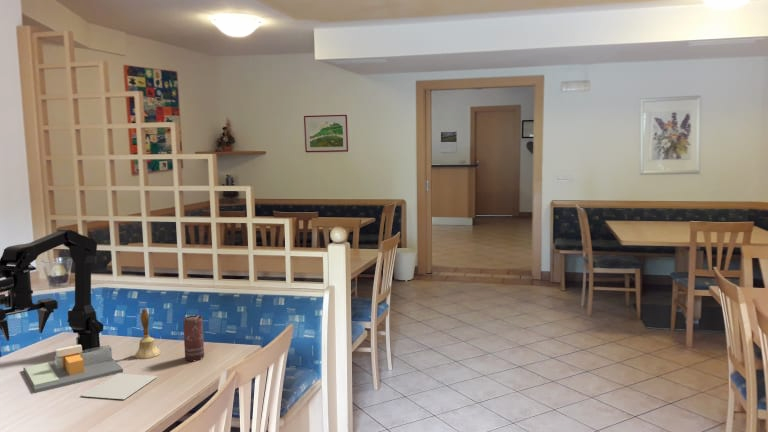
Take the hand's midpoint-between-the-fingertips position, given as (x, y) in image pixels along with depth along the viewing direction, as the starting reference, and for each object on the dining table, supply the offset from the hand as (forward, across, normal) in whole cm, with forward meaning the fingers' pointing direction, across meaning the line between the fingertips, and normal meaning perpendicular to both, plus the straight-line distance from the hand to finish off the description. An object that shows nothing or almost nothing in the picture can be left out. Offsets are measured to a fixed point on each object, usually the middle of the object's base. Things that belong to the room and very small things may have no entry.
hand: (24, 336), depth 178 cm
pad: (+12, -2, +5) cm, 14 cm away
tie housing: (+12, -14, +7) cm, 20 cm away
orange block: (+12, -10, +7) cm, 17 cm away
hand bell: (+13, -33, +12) cm, 37 cm away
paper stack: (+13, -12, +38) cm, 42 cm away
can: (+13, -41, +28) cm, 51 cm away
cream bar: (+7, -10, +7) cm, 14 cm away
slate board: (+12, -10, +8) cm, 18 cm away
